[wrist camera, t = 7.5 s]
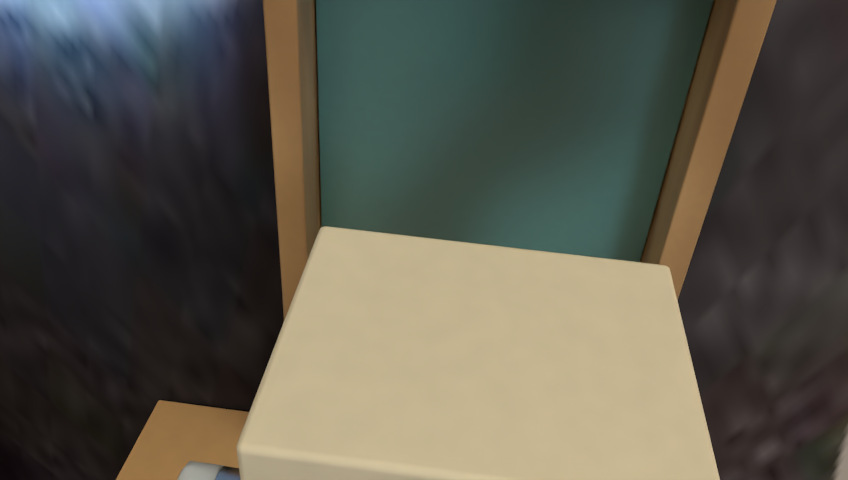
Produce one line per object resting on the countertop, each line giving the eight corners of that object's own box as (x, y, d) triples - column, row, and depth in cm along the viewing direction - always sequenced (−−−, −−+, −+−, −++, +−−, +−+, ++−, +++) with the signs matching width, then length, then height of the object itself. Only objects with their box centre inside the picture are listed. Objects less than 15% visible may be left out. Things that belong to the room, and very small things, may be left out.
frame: (311, 464, 31) (296, 516, 29) (286, -109, 18) (255, -87, 16) (588, 502, 30) (592, 558, 28) (761, -67, 17) (790, -38, 15)
